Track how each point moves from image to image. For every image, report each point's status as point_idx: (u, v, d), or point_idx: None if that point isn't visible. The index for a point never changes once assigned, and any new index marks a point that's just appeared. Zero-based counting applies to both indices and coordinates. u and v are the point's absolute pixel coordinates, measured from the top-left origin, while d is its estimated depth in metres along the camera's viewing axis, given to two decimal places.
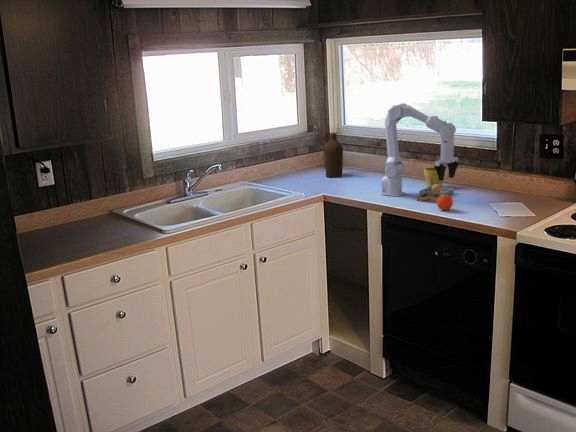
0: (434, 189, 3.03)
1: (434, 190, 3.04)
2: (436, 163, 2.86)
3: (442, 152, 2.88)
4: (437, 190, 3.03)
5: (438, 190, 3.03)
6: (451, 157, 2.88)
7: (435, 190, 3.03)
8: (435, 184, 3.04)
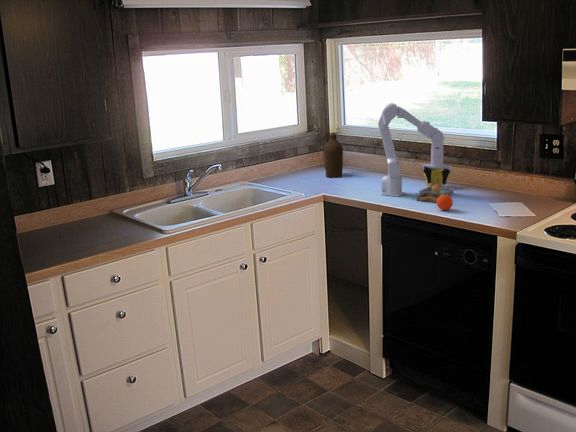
0: (434, 189, 3.03)
1: (434, 190, 3.04)
2: None
3: None
4: (437, 190, 3.03)
5: (438, 190, 3.03)
6: (433, 163, 3.00)
7: (435, 190, 3.03)
8: (435, 184, 3.04)
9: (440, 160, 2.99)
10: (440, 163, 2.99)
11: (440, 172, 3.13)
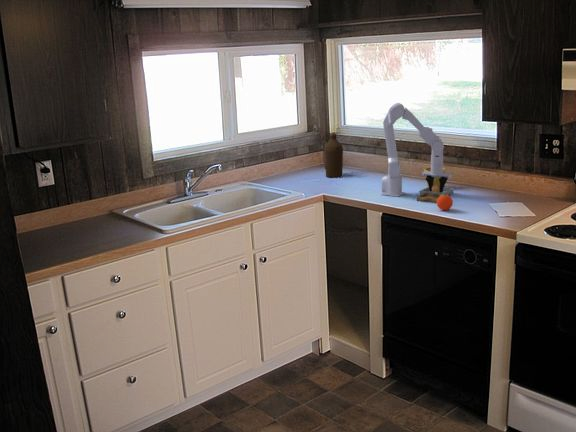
0: (434, 189, 3.03)
1: (434, 190, 3.04)
2: None
3: None
4: (437, 190, 3.03)
5: (438, 190, 3.03)
6: (433, 171, 3.01)
7: (435, 190, 3.03)
8: (435, 184, 3.04)
9: (440, 168, 3.00)
10: (440, 171, 3.00)
11: None
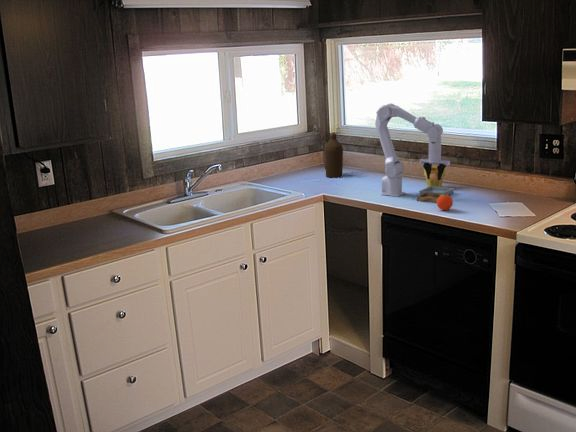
0: (432, 177, 2.95)
1: (432, 178, 2.96)
2: None
3: None
4: (435, 178, 2.95)
5: (436, 178, 2.95)
6: (431, 158, 2.93)
7: (433, 178, 2.95)
8: (433, 172, 2.96)
9: (438, 155, 2.92)
10: (438, 158, 2.92)
11: None
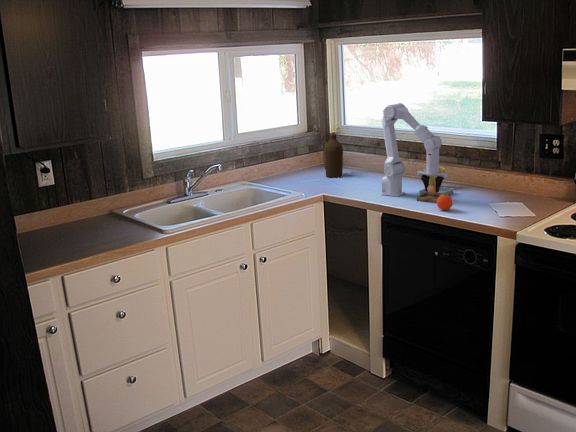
0: (430, 189, 2.92)
1: (430, 190, 2.92)
2: None
3: None
4: (433, 190, 2.92)
5: (434, 190, 2.92)
6: (429, 170, 2.89)
7: (431, 190, 2.92)
8: (431, 184, 2.93)
9: (436, 167, 2.89)
10: (436, 171, 2.89)
11: None
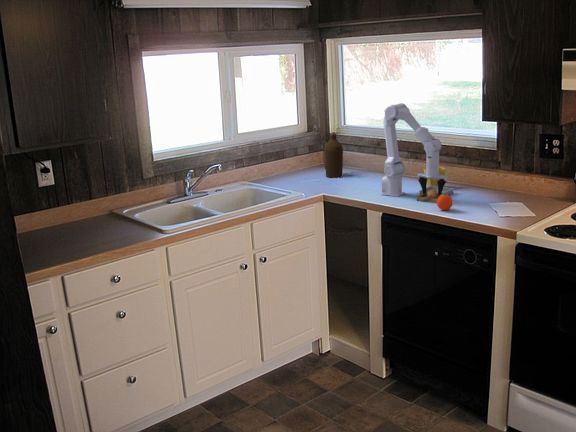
0: (430, 194, 2.93)
1: (430, 195, 2.93)
2: None
3: None
4: (433, 195, 2.93)
5: (434, 195, 2.93)
6: (429, 173, 2.90)
7: (431, 195, 2.93)
8: (431, 189, 2.93)
9: (436, 170, 2.89)
10: (436, 173, 2.89)
11: (440, 172, 3.13)
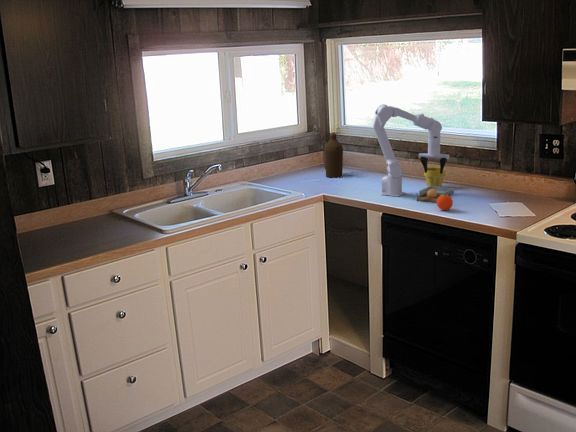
0: (430, 194, 2.93)
1: (430, 195, 2.93)
2: None
3: None
4: (433, 195, 2.93)
5: (434, 195, 2.93)
6: (431, 152, 3.02)
7: (431, 195, 2.93)
8: (430, 189, 2.93)
9: (438, 149, 3.02)
10: (438, 152, 3.02)
11: None
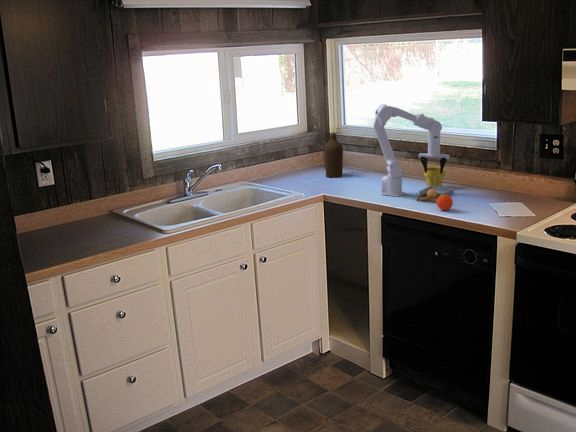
0: (429, 194, 2.93)
1: (429, 195, 2.93)
2: None
3: None
4: (433, 195, 2.93)
5: (434, 195, 2.93)
6: (431, 152, 3.02)
7: (431, 195, 2.93)
8: (430, 189, 2.94)
9: (438, 149, 3.02)
10: (438, 152, 3.02)
11: None
